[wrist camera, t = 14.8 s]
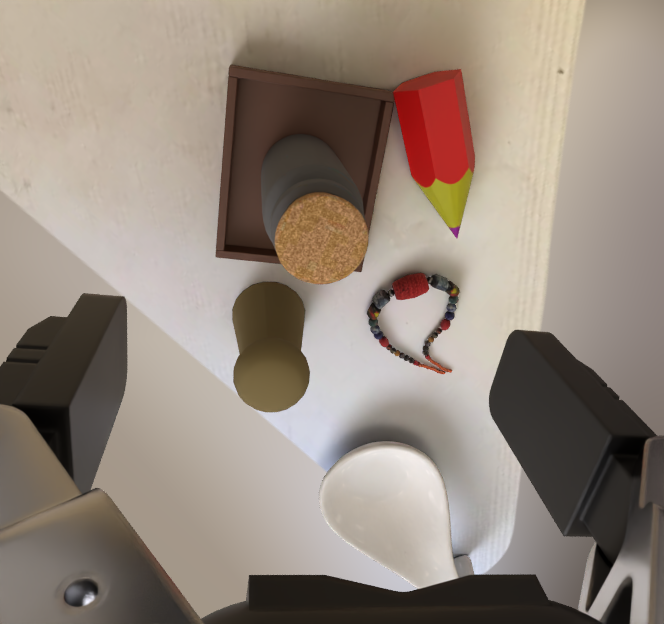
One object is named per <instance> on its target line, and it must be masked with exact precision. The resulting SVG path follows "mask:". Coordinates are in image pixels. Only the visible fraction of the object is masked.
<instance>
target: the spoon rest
mask: <svg viewBox="0 0 664 624" xmlns="http://www.w3.org/2000/svg"><path fill="white" fill-rule="evenodd" d="M319 504H320V508H321V512H322V515H323V517H324V519H325V521H326V522H327V524H328V525H329V526H330V528H331V529H332V530H333V531H334V532H335V533H336V534H337V535H338V536H339V537H341V538H342V539H343V540H344V541H345V542H347V543H348V544H349V545H351V546H353V547H354V548H356V549H357V550H358V551H360V552H362V553H363V554H365V555H366V556H368V557H370V558H371V559H373V560H374V561H376V562H378V563H379V564H381V565H383V566H384V567H386V568H387V569H389V570H391V571H392V572H394V573H395V574H397V575H399V576H400V577H401V578H403V579H405V580H406V581H407V582H409V583H410V584H412V585H413V586H414V587H416V588H417V589H420V588H424V587H428V586H431V585H435V584H438V583H442V582H446V581H449V580H453V579H456V578H460V577H464V576H467V575H474V571H473V567H472V563H471V560H470V557H468V556H460V557H457V558H455V559H453V552H452V543H451V525H450V512H449V504H448V497H447V491H446V487H445V483H444V480H443V477H442V475H441V473H440V471H439V469H438V468H437V466H436V464H435V463H434V462H433V461H432V459H431V458H429V457H428V456H427V455H426V454H424V453H423V452H422V451H420V450H418V449H416V448H414V447H412V446H410V445H407V444H404V443H399V442H391V441H380V442H373V443H369V444H366V445H363V446H360V447H358V448H356V449H354V450H352V451H350V452H348V453H347V454H345V455H344V456H342V457H341V458H340V459H339V460H338V461H337V462H336V463H335V464H334V465H333V466H332V467H331V468H330V469H329V471H328V472H327V474H326V475H325V476H324V478H323V480H322V483H321V486H320V490H319Z"/></svg>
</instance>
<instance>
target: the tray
mask: <svg viewBox="0 0 664 624" xmlns="http://www.w3.org/2000/svg"><path fill="white" fill-rule="evenodd" d="M394 100H395V99H394V94H393V92H391V91H389V90H383V89H377V88H371V87H365V86H358V85H352V84H346V83H340V82H334V81H328V80H322V79H316V78H309V77H303V76H297V75H291V74H285V73H279V72H273V71H266V70H260V69H254V68H248V67H242V66H236V65H230V67H229V77H228V91H227V104H226V118H225V132H224V146H223V160H222V174H221V188H220V202H219V216H218V230H217V243H216V257H218V258H228V259H238V260H248V261H258V262H267V263H277V264H281V262H280V260H279V258H278V255H277V252H276V250H275V248H274V246H273V243H272V241H271V240H270V238H269V236H268V234H267V232H266V230H265V226H264V222H263V214H262V196H261V170H262V164H263V161H264V158H265V156H266V154H267V153H268V151H269V150H270V148H271V147H272V146H273V145H274V144H275V143H276V142H278V141H279V140H281V139H283V138H285V137H287V136H290V135H295V134H306V135H311V136H314V137H317V138H319V139H321V140H322V141H323V142H325V143H326V144H327V145H328V146H329V147H330V148H331V149H332V150H333V151H334V153H335V154H336V156H337V157H338V159H339V160H340V161H341V163H342V164H343V166H344V167H345V169H346V170H347V172H348V173H349V175H350V176H351V178H352V179H353V181H354V183H355V185H356V186H357V188H358V190H359V192H360V194H361V198H362V201H363V208H364V215H365V220H366V225H367V229H368V235H369V230H370V225H371V220H372V215H373V210H374V204H375V199H376V194H377V189H378V184H379V178H380V173H381V168H382V163H383V158H384V152H385V147H386V142H387V137H388V132H389V126H390V121H391V116H392V111H393V106H394V103H393V102H394ZM363 261H364V258H363V260H362V262H361V263H360V264H359V266H358V267H357V268H356V269H355V270H354V271H355V272H361V271H362V267H363Z"/></svg>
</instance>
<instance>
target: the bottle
mask: <svg viewBox="0 0 664 624" xmlns="http://www.w3.org/2000/svg"><path fill="white" fill-rule="evenodd" d="M261 196H262V214H263V222H264V226H265V230H266V232H267V234H268V236H269V238H270V240H271V241H272V243H273V246H274V248H275V250H276V252H277V255H278V258H279V260H280V262H281V264H282V265H283V266H284V268H285V269H286V270H287V271H288V272H289V273H290V274H292V275H293V276H294V277H296V278H297V279H300V280H302V281H304V282H307V283H313V284H329V283H333V282H336V281H339V280H341V279H343V278H345V277H347V276H348V275H349V274H351V273H352V272H353V271H354V270H355V269H356V268H357V267H358V266H359V264H360V263H361V262H362V260H363V258H364V256H365V253H366V251H367V247H368V237H369V236H368V229H367V225H366V220H365V215H364V208H363V201H362V198H361V194H360V192H359V190H358V188H357V186H356V185H355V183H354V181H353V179H352V178H351V176H350V175H349V173H348V172H347V170H346V169H345V167H344V166H343V164H342V163H341V161H340V160H339V159H338V157H337V156H336V154H335V153H334V151H333V150H332V149H331V148H330V147H329V146H328V145H327V144H326V143H325V142H323V141H322V140H321V139H319V138H317V137H314V136H311V135H306V134H295V135H290V136H287V137H285V138H283V139H281V140H279V141H278V142H276V143H275V144H274V145H273V146H272V147H271V148H270V150H269V151H268V153H267V154H266V156H265V158H264V161H263V164H262V170H261Z"/></svg>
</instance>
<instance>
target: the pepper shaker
mask: <svg viewBox="0 0 664 624" xmlns="http://www.w3.org/2000/svg"><path fill="white" fill-rule="evenodd" d="M232 311H233V324H234V329H235V334H236V338H237V343H238V348H239V353H240V355H239V357H238V358H237V361H236V364H235V366H234V385H235V387H236V390H237V392H238V395H239V396H240V398H241V399H242V400H243V401H244V402H245V403H246V404H248V405H249V406H251V407H253V408H254V409H256V410H259V411H263V412H279V411H282V410H286V409H288V408H289V407H291V406H293V405H294V404H296V403H297V402H298V401H299V400H300V399H301V398H302V397H303V396H304V394H305V391H306V389H307V387H308V384H309V376H310V371H309V366H308V363H307V360H306V357H305V356H304V355H303V353H302V352H301V346H302V337H303V328H304V318H305V309H304V306H303V302H302V300H301V299H300V297H299V296H298V294H297V293H296V292H295V291H294V290H292V289H291V288H289V287H288V286H286V285H283V284H280V283H277V282H262V283H258V284H254V285H252V286H250V287H249V288H247V289H245V290H244V291H243V292H242V293H241V294H240V295H239V297H238V298H237V299H236V301H235V304H234V307H233V309H232Z"/></svg>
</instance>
